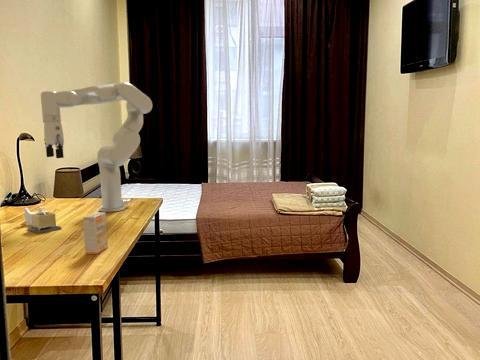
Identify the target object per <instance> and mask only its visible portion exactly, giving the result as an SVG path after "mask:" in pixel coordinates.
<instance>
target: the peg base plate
mask: <svg viewBox="0 0 480 360" xmlns="http://www.w3.org/2000/svg"><path fill="white" fill-rule="evenodd" d="M41 215H47V213H46V212H43V213H40V216H41ZM27 230H28V231H29V232H32V233H34V234H37V235H38V234H43V233H49V232H54V231H58V230H59V231H60V230H62V227H61V226H60V225H58V224H56V226H51V227H45V228H40V229H39V228H36V227H34V226H32V225H30V226H29V227H27Z"/></svg>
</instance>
